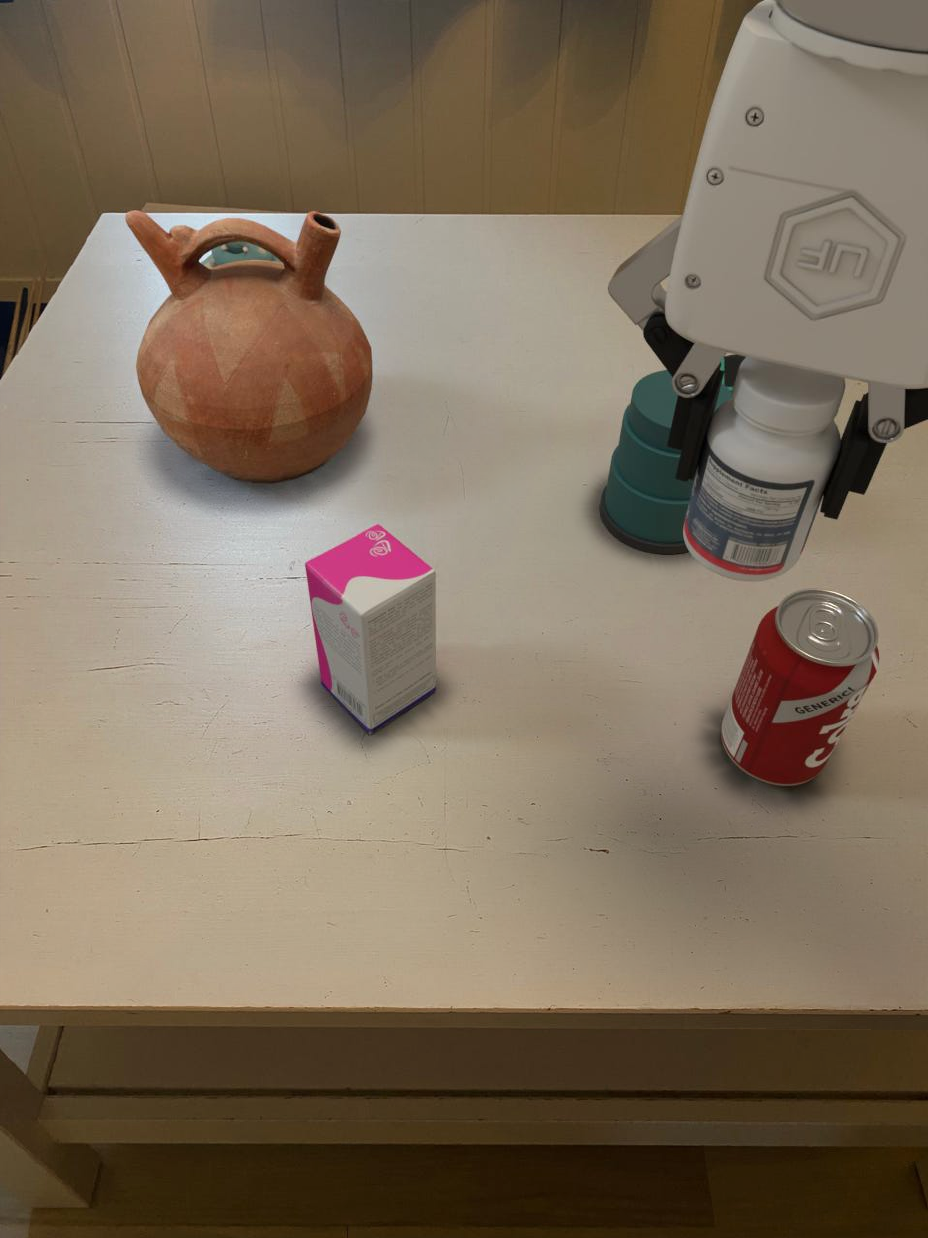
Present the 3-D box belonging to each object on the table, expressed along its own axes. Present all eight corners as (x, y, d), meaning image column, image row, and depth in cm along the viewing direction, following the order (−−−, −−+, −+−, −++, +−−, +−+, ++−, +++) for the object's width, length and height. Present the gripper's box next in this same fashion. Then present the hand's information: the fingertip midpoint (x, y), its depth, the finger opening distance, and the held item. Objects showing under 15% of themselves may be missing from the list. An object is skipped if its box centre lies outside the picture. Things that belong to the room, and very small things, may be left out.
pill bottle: (730, 489, 45) (779, 321, 38) (823, 547, 42) (893, 378, 36) (656, 538, 43) (695, 369, 36) (750, 603, 40) (810, 434, 33)
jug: (135, 510, 75) (58, 275, 60) (186, 378, 87) (132, 155, 72) (367, 517, 75) (347, 283, 60) (386, 384, 87) (373, 161, 72)
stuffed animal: (155, 273, 89) (192, 193, 95) (176, 332, 95) (210, 253, 101) (266, 283, 88) (296, 202, 94) (280, 342, 94) (308, 262, 100)
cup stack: (728, 493, 77) (762, 378, 69) (702, 568, 72) (736, 452, 63) (618, 464, 80) (638, 349, 72) (584, 534, 74) (601, 419, 66)
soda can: (711, 775, 59) (759, 655, 50) (724, 693, 64) (770, 569, 55) (822, 804, 58) (890, 685, 49) (827, 718, 62) (891, 595, 53)
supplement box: (439, 689, 64) (439, 570, 55) (369, 737, 61) (357, 619, 52) (386, 640, 66) (378, 519, 58) (317, 683, 64) (298, 563, 55)
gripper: (586, -30, 26) (538, 482, 39) (1297, 60, 22) (971, 596, 35) (652, -91, 30) (589, 385, 44) (1248, -27, 26) (977, 476, 40)
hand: (761, 475), depth 40 cm, fingers closed on pill bottle, 5 cm apart
